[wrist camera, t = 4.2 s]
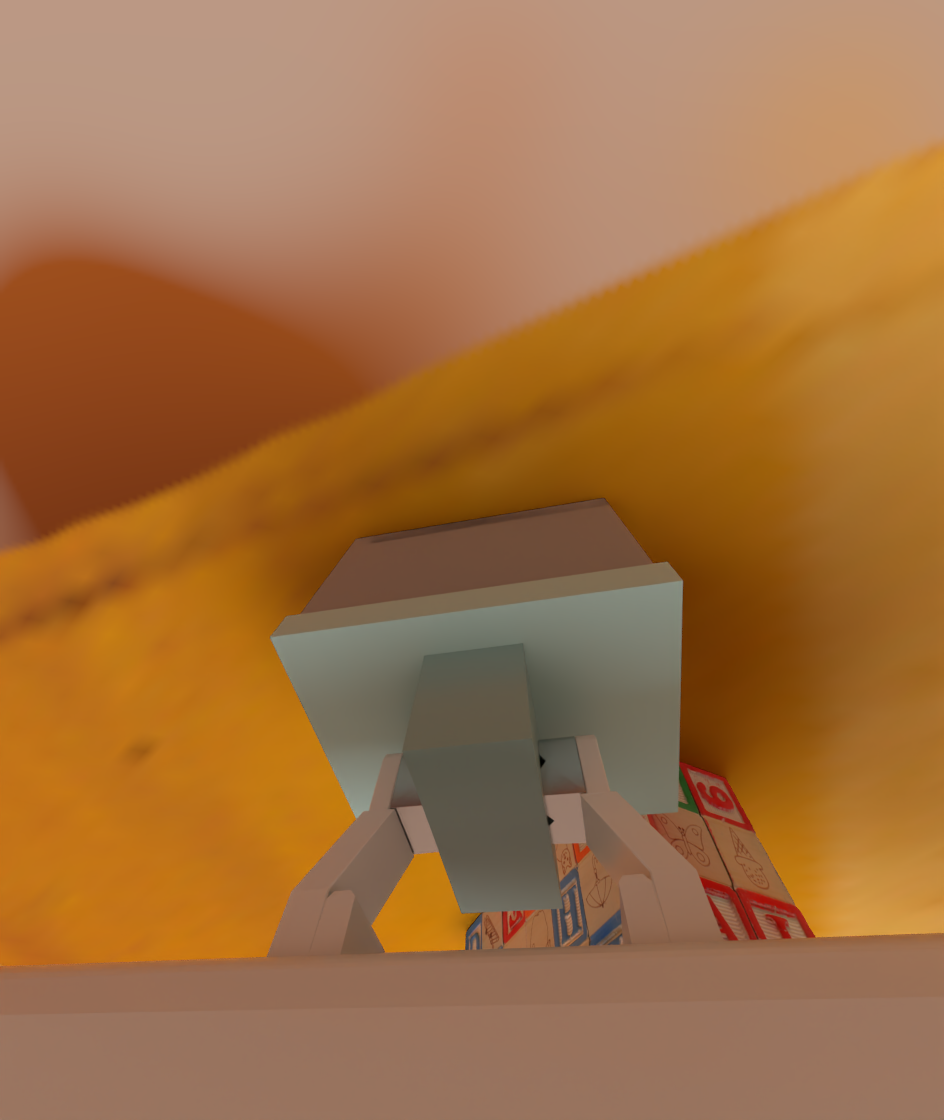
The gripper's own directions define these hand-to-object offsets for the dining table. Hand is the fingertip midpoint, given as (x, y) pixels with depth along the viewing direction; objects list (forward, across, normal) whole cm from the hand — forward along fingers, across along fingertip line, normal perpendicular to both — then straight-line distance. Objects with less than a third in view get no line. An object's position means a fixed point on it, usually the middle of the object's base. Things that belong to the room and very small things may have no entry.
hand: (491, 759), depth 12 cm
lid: (+3, 0, 0) cm, 3 cm away
